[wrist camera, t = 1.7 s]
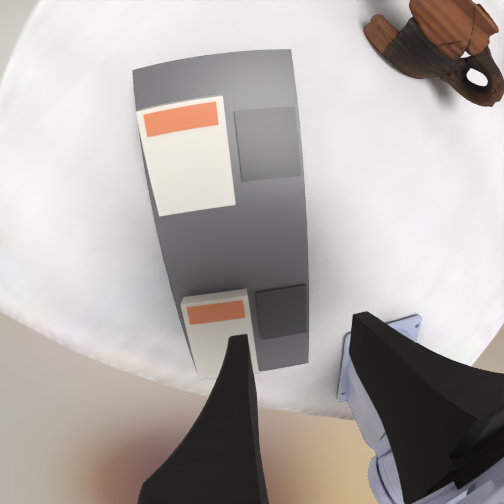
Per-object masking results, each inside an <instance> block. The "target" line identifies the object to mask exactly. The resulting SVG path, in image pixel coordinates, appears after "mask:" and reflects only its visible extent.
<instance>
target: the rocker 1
mask: <svg viewBox="0 0 504 504" xmlns="http://www.w3.org/2000/svg"><path fill="white" fill-rule="evenodd" d="M136 115H137V120H138V126H139V131H140V136H141V141H142V145H143V150H144V155H145V159H146V164H147V168H148V173H149V177H150V181H151V185H152V189H153V194H154V198H155V201H156V205H157V209H158V213H159V217H160V216H166V215H172V214H178V213H184V212H190V211H197V210H203V209H210V208H217V207H224V206H231V205H236V203H235V195H234V187H233V178H232V170H231V162H230V153H229V145H228V136H227V128H226V119H225V110H224V102H223V95H222V94H219V95H211V96H204V97H198V98H192V99H186V100H180V101H175V102H170V103H165V104H160V105H155V106H151V107H147V108H142V109H141V110H139V111H137V112H136Z"/></svg>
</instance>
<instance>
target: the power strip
mask: <svg viewBox="0 0 504 504" xmlns="http://www.w3.org/2000/svg"><path fill="white" fill-rule="evenodd" d="M132 72H133V83H134V94H135V103H136V112H137V111H139V110H141V109H142V108H147V107H151V106H155V105H160V104H165V103H170V102H175V101H180V100H186V99H192V98H198V97H204V96H211V95H219V94H222V95H223V102H224V110H225V119H226V128H227V136H228V145H229V153H230V162H231V170H232V178H233V187H234V195H235V203H236V205H231V206H224V207H217V208H210V209H203V210H197V211H190V212H184V213H178V214H172V215H166V216H160V217H159V213H158V209H157V205H156V201H155V198H154V194H153V189H152V185H151V181H150V177H149V173H148V168H147V164H146V159H145V155H144V150H143V145H142V141H141V136H140V142H141V148H142V155H143V161H144V167H145V173H146V178H147V184H148V189H149V195H150V200H151V205H152V210H153V214H154V219H155V224H156V228H157V233H158V237H159V242H160V246H161V250H162V254H163V259H164V263H165V267H166V271H167V274H168V278H169V282H170V286H171V290H172V293H173V297H174V301H175V304H176V308H177V311H178V314H179V318H180V321H181V325H182V328H183V331H184V334H185V338H186V341H187V344H188V347H189V350H190V353H191V356H192V359H193V355H192V351H191V347H190V343H189V339H188V335H187V331H186V327H185V322H184V318H183V313H182V309H181V302H182V300H183V297H187V296H195V295H203V294H210V293H218V292H225V291H233V290H240V289H247V294H248V301H249V308H250V315H251V322H252V329H253V336H254V343H255V350H256V356H257V363H258V370H259V371H266V370H272V369H278V368H284V367H289V366H295V365H300V364H305V363H308V353H309V280H308V243H307V219H306V200H305V184H304V169H303V156H302V144H301V133H300V122H299V112H298V103H297V94H296V85H295V77H294V69H293V62H292V54H291V49H281V50H255V51H241V52H230V53H221V54H213V55H205V56H198V57H192V58H186V59H181V60H175V61H170V62H165V63H161V64H156V65H152V66H148V67H144V68H140V69H136V70H132ZM138 127H139V126H138ZM139 135H140V131H139ZM193 362H194V359H193ZM194 365H195V363H194ZM195 368H196V367H195ZM196 371H197V370H196Z"/></svg>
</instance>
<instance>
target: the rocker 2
mask: <svg viewBox="0 0 504 504" xmlns="http://www.w3.org/2000/svg"><path fill="white" fill-rule="evenodd" d="M181 309H182V313H183V318H184V322H185V327H186V331H187V335H188V339H189V343H190V347H191V351H192V355H193V359H194V363H195V367H196V370H197V374H198V378H199V380H206V379H216V378H218V375H219V372H220V369H221V366H222V364H223V360H224V357H225V353H226V349H227V345H228V338H229V337H230V336H234V335H241V334H247V335H248V342H249V348H250V354H251V361H252V367H253V373H254V374H255V373H259V370H258V363H257V356H256V350H255V343H254V336H253V329H252V322H251V315H250V308H249V301H248V294H247V289H240V290H233V291H225V292H218V293H210V294H203V295H195V296H187V297H183V300H182V302H181Z"/></svg>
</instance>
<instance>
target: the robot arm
mask: <svg viewBox="0 0 504 504" xmlns="http://www.w3.org/2000/svg"><path fill="white" fill-rule="evenodd" d="M421 322H422V317H421V316H420V315H417V316H413V317H410V318H407V319H403V320H400V321H396V322H393V323H389V324H386V323H384V322H383V321H381V320H380V319H378V318H377V317H375V316H374V315H372V314H371V313H369V312H367V311H366V312H362V313H357V314H353V319H352V328H351V333H350V334H348V335H347V336H346V338H345V345H344V353H343V361H342V369H341V376H340V382H339V389H338V395H337V400H338V401H339V402H342V401H346V400H347V401H348V403H349V406H350V408H351V410H352V413H353V415H354V417H355V420H356V422H357V424H358V427H359V429H360V431H361V434H362V436H363V438H364V440H365V442H366V443H367V444H368V446H370V447H371V448H372V449H374V451H375V453H376V456H374V457H373V458H372V459H371V461H370V465H369V469H368V480H369V484H370V487H371V490H372V492H373V495H374V497H375V498H376V500H377V502H379V504H504V374H502V373H495V372H490V371H486V370H482V369H478V368H474V367H471V366H468V365H465V364H462V363H459V362H456V361H453V360H451V359H449V358H446V357H444V356H442V355H439V354H437V353H435V352H433V351H431V350H429V349H427V348H425V347H424V346H422V345H420V344H418V343H417V342H416V340H417V336H418V333H419V329H420V326H421ZM349 343H350V344H349ZM258 431H259V430H258V410H257V392H256V386H255V380H254V373H253V367H252V361H251V354H250V348H249V342H248V335H247V334H241V335H234V336H230V337H229V338H228V345H227V349H226V353H225V357H224V360H223V364H222V366H221V369H220V372H219V375H218V378H217V380H216V382H215V385H214V387H213V389H212V391H211V394H210V396H209V398H208V400H207V402H206V404H205V406H204V408H203V410H202V411H201V413H200V415H199V417H198V418H197V420H196V422H195V423H194V424H193V426H192V428H191V429H190V431H189V432H188V434H187V435H186V437H185V438H184V439H183V441H182V442H181V443H180V444H179V446H178V447H177V448H176V450H175V451H174V452H173V453H172V454H171V455H170V456H169V458H168V459H167V460H166V461H165V462H164V463H163V464H162V465H161V466H160V467H159V468H158V469H157V470H156V471H155V472H154V473H153V474H152V475H151V476H150V477H149V478H148V479H147V480H146V481H145V482H144V483H143V485H142V488H141V491H140V495H139V499H138V503H137V504H269V502H268V496H267V490H266V485H265V479H264V473H263V467H262V460H261V454H260V446H259V432H258Z"/></svg>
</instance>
